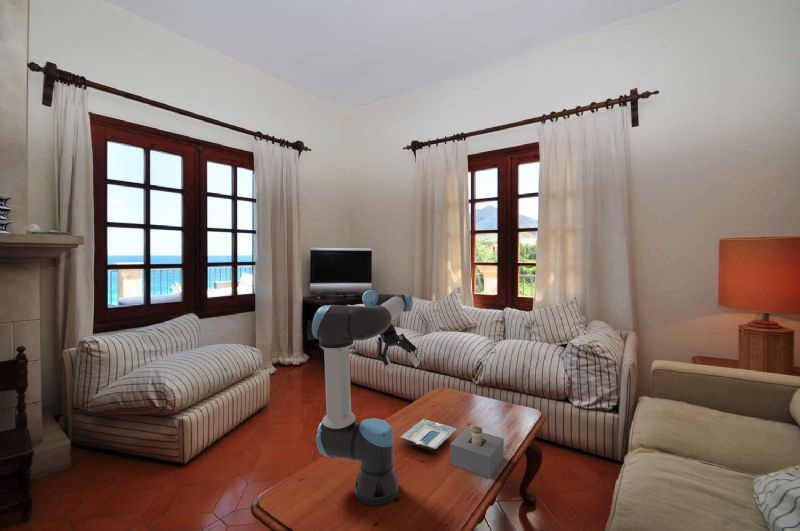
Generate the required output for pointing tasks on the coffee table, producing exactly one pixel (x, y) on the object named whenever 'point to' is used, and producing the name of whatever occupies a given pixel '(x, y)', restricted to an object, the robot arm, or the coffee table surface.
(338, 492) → the coffee table surface
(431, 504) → the coffee table surface
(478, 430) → the peg
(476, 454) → the socket block
